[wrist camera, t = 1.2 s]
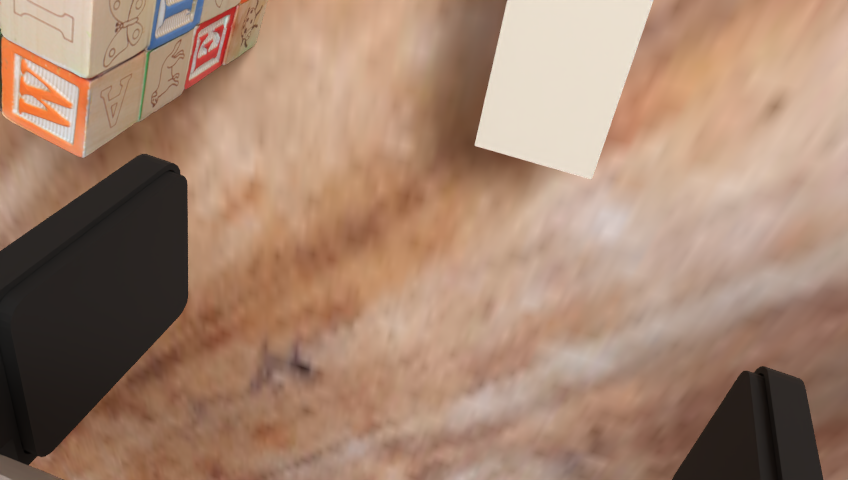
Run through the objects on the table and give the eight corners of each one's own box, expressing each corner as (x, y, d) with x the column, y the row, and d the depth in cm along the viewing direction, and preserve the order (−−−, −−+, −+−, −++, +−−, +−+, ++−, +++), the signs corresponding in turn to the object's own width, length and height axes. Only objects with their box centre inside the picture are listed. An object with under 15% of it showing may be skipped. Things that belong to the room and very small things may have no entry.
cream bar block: (682, -104, 25) (681, -82, 21) (604, 126, 30) (591, 179, 26) (556, -132, 26) (533, -115, 22) (502, 98, 31) (474, 145, 27)
